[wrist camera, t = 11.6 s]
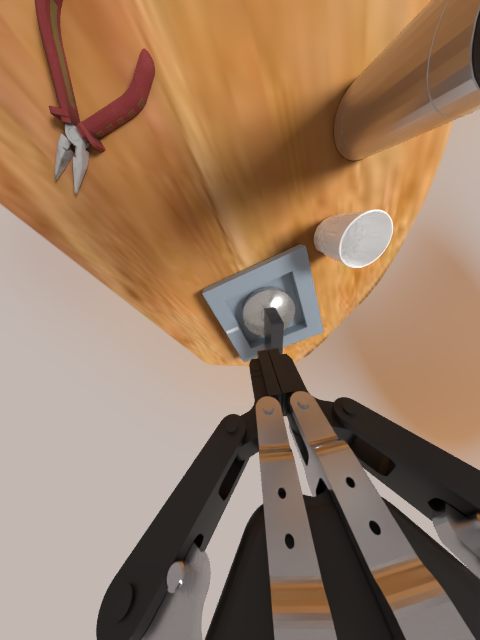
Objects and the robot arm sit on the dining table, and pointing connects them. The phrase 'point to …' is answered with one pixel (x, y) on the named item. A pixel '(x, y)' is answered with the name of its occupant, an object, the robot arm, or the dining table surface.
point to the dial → (269, 314)
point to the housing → (276, 271)
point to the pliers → (76, 131)
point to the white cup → (354, 237)
